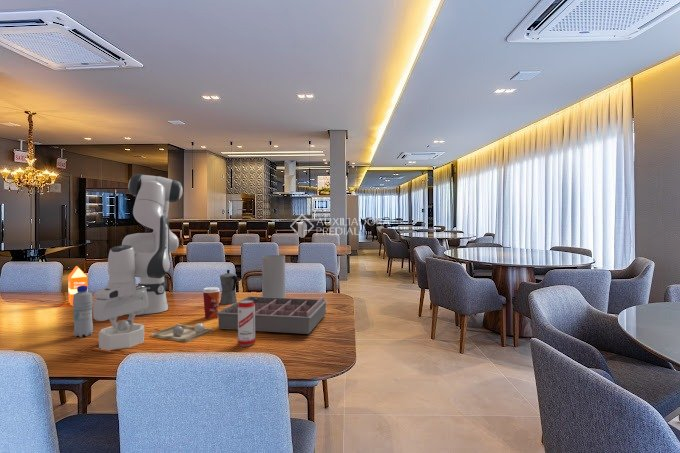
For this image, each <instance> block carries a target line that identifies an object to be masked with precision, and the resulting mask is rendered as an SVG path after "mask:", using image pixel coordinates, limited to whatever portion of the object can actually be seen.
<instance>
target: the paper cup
mask: <svg viewBox="0 0 680 453" xmlns="http://www.w3.org/2000/svg"><path fill="white" fill-rule="evenodd" d="M220 292H221V290H220V287H217V286H210V287H209V286H207V287H204V288H203V290H202V294H203V306H204V307H203V309H204V318H205V319H207V320H213V319H218V314H216V313H217V312H219V307H220V306H219V304H220Z"/></svg>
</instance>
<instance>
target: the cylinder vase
mask: <svg viewBox="0 0 680 453" xmlns="http://www.w3.org/2000/svg"><path fill="white" fill-rule="evenodd" d="M261 261H262V262H261V270H262V272H261V276H262V279H261V280H262V281H261V283H262V284H261V285H262V286H261V288H262V290H261V292H262V294H261V297H274V298H286V255H283V254H268V255H263V256H261Z"/></svg>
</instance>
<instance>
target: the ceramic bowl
mask: <svg viewBox="0 0 680 453" xmlns="http://www.w3.org/2000/svg"><path fill="white" fill-rule="evenodd" d="M144 340H145V324H143V323H135V322H133V324H132V325H129V328H128V329H127V330H126V331H120V330H118V329H113V325H112V326H107V327H105V328H102V329H101V330H100V331H99V332H98V349H99V348H101V349H100V350H102V349H106V350H105V351H107V350H119V349H121V350H122V349H128V348H132V347H135V346H137V345H139V344H142V343H144Z"/></svg>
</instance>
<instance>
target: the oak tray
mask: <svg viewBox="0 0 680 453" xmlns="http://www.w3.org/2000/svg"><path fill="white" fill-rule="evenodd" d="M177 326H181V327H182V328H183V329H184V333H183V334H182V335H181V336H179V337H176V336H174V335H173V329H174V328H175V327H177ZM194 327H195V325H193V326H192V325H187V324H179V323H178V324H176V325H172V326H169V327H167V328H163V329H161V330H158V331H154V332H151V333H150V337H151V338H157V339H158V338H159V339H163V340H168V341H169V340H170V341H176V342H180V343H181V342H183V343H189V342H191V341H193V340H195V339H198V338H200V337H202V336H205V335H207V334H210V333H213V328H209V327H208V328H207V327H205V330H204V332H202V333H199V334H198V333H196V332H195V331H194Z"/></svg>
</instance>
